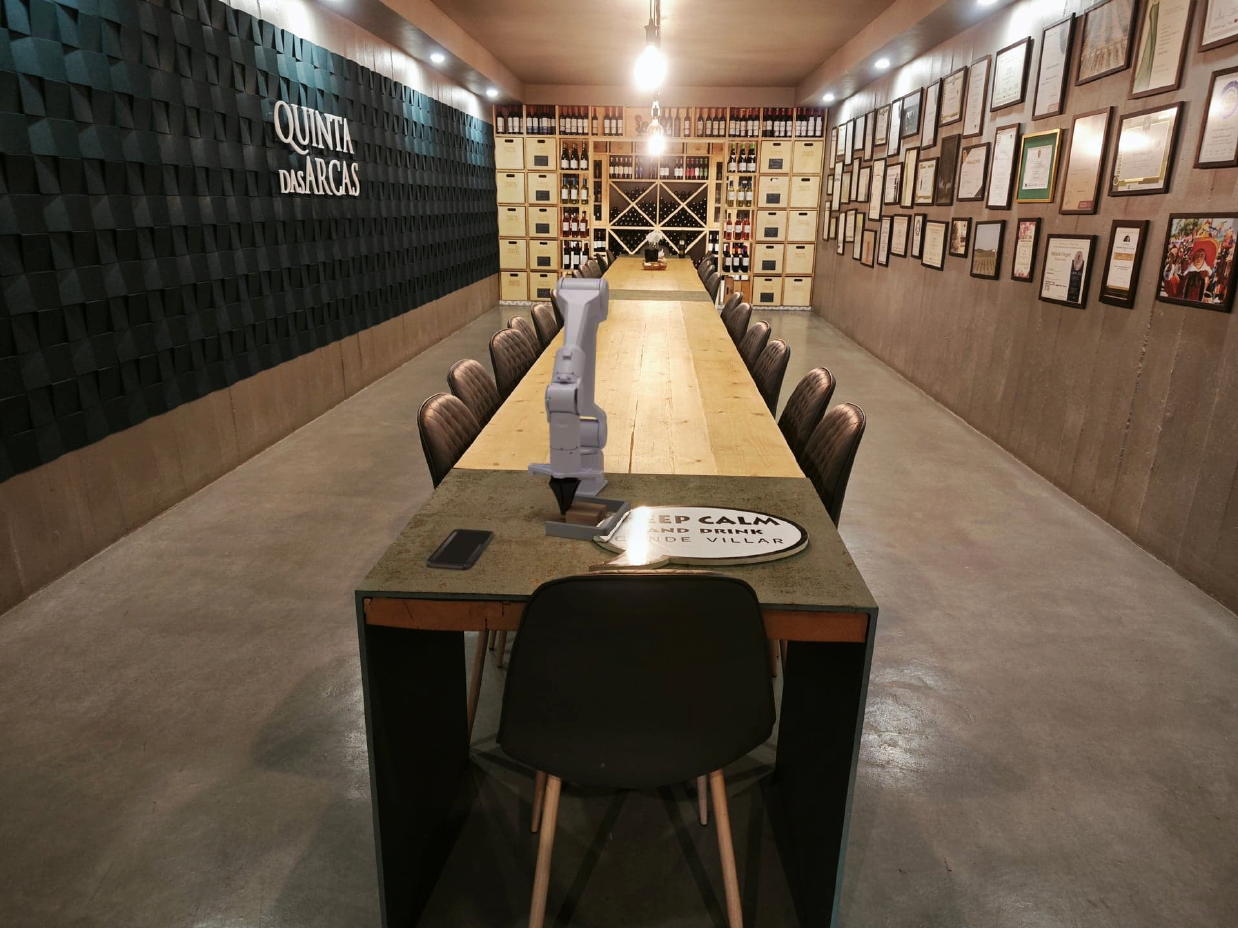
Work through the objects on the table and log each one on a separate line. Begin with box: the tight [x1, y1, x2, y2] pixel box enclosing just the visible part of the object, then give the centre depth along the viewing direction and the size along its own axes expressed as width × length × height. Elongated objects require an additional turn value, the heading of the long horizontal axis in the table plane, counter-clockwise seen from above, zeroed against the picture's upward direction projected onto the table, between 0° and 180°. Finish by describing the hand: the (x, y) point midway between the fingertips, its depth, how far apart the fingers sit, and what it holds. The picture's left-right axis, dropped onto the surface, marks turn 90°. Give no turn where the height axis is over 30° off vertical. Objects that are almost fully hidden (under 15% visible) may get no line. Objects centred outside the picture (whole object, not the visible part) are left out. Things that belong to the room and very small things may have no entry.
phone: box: [426, 528, 495, 571], centre depth 138 cm, size 8×1×15 cm
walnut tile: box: [565, 502, 607, 527], centre depth 150 cm, size 6×6×3 cm
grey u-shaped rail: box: [545, 494, 632, 542], centre depth 149 cm, size 16×12×2 cm
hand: (565, 513), depth 151 cm, fingers closed
